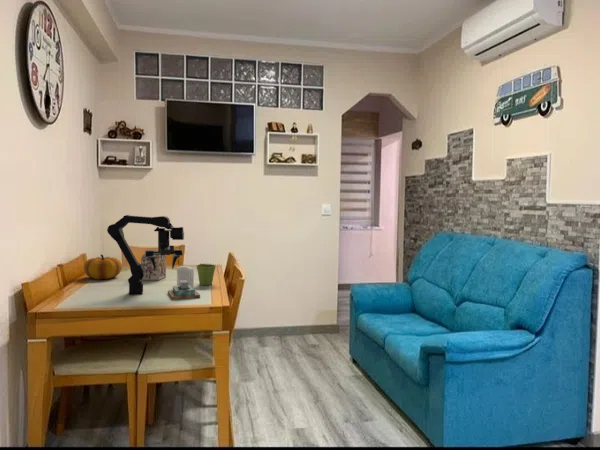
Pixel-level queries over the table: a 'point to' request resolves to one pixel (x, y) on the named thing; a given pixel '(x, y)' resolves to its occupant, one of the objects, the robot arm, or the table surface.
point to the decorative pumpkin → (102, 267)
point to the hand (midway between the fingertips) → (163, 269)
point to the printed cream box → (185, 275)
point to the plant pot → (205, 273)
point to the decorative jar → (159, 267)
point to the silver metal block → (183, 285)
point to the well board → (183, 293)
